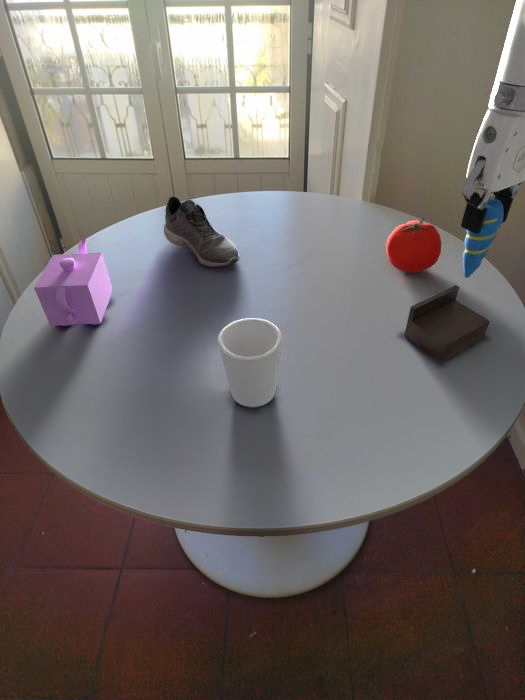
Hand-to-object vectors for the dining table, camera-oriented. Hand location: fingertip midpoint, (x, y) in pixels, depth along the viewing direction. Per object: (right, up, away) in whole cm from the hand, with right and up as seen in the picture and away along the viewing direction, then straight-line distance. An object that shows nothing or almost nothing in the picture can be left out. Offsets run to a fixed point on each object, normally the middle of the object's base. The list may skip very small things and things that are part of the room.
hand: (483, 223), depth 73 cm
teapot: (-72, -11, +28) cm, 78 cm away
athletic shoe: (-49, +5, +44) cm, 66 cm away
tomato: (-1, -1, +35) cm, 35 cm away
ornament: (0, -7, +7) cm, 10 cm away
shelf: (+1, -17, +17) cm, 24 cm away
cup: (-36, -27, +8) cm, 46 cm away
